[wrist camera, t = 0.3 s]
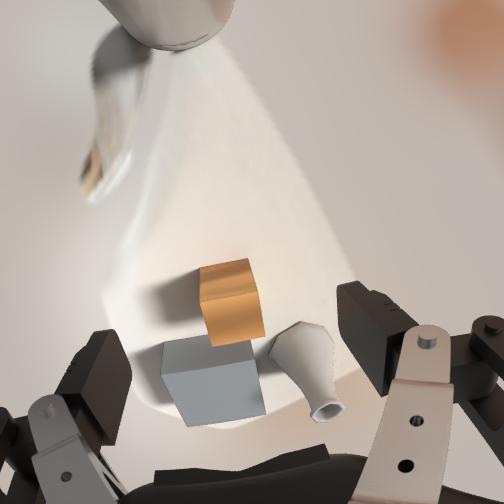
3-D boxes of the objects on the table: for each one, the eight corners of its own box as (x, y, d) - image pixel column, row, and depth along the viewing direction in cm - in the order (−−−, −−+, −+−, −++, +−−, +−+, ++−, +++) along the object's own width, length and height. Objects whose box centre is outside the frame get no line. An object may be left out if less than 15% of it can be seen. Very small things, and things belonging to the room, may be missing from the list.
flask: (301, 376, 37) (324, 440, 28) (256, 354, 34) (273, 425, 25) (343, 337, 35) (378, 398, 26) (300, 310, 33) (332, 377, 24)
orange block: (199, 267, 29) (199, 302, 24) (247, 258, 29) (258, 291, 24) (210, 307, 31) (212, 346, 26) (254, 298, 31) (265, 336, 26)
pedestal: (164, 342, 32) (160, 374, 27) (247, 327, 33) (254, 359, 28) (187, 395, 36) (187, 427, 31) (259, 383, 36) (266, 414, 32)
